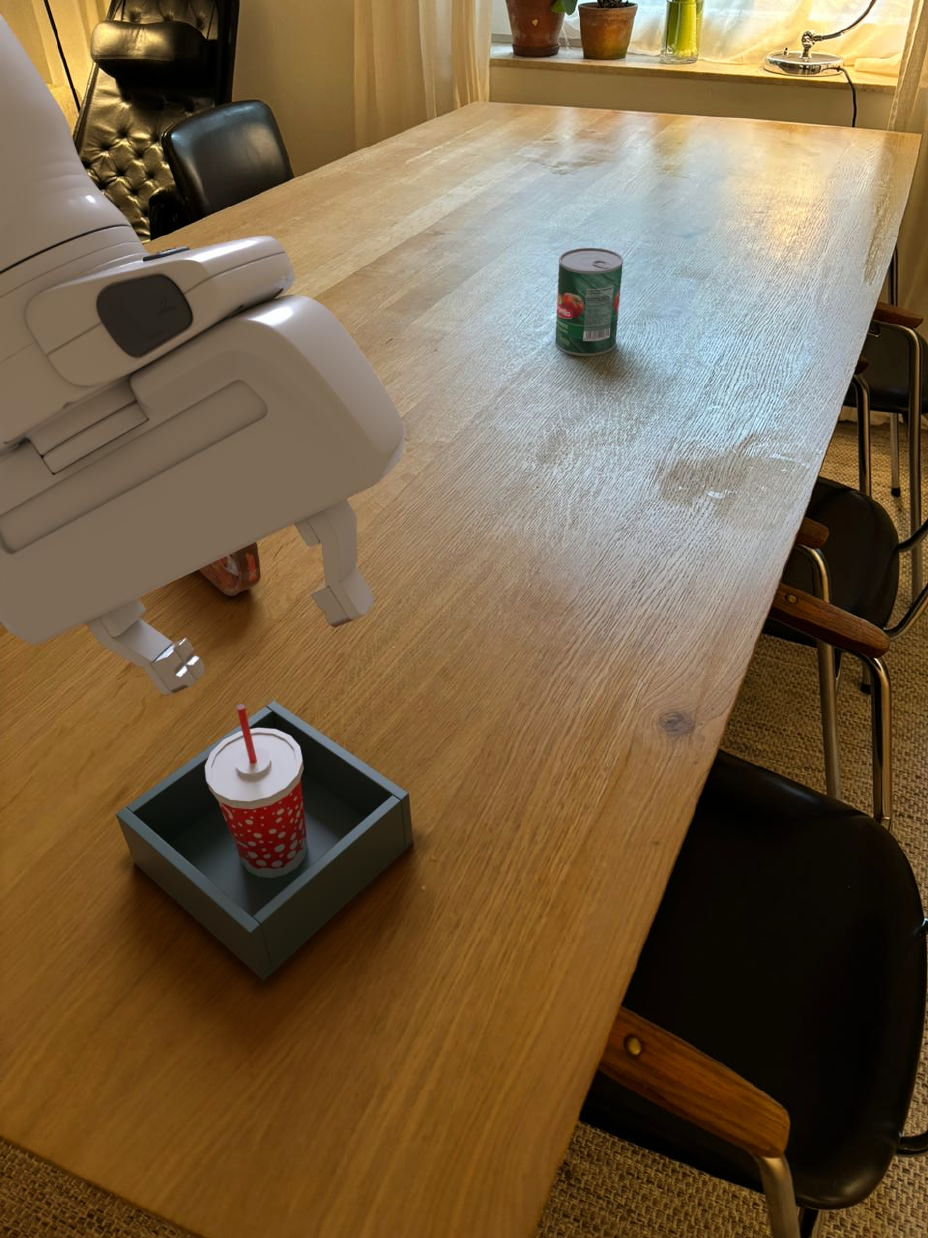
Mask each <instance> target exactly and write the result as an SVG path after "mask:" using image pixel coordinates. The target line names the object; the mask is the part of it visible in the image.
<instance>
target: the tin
mask: <svg viewBox="0 0 928 1238" xmlns="http://www.w3.org/2000/svg"><path fill="white" fill-rule="evenodd" d="M257 542H258V541H257ZM257 542H255V543H253V544H251V545H248V546H246V547H244V548H242V549H240V550H238V551H236V552H234V553H232V554H230V555H227V556H225V557H223V558H221V559H219V560H217V561H215V562H213V563H211V564H208V565H206V566H204V567H202V568H200V569H198V570H197V571H199V572H200V573H201V574H202V575H203V576H204V578H206V579H207V580H208V581H209V582H211V584H213V585H214V586H215V588H217V589H218V590H219V591H220V592H221V593H223V594H224V595H226V596H229V597H234V596H236V595H237V594H239V593H241V592H243V591H246V590H248V589H251V588H253V587H255V586H256V585H257V584H258V583H259V582H260V580H261V577H262V573H261V561H260V556H259V546H258V543H257Z"/></svg>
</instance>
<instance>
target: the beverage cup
mask: <svg viewBox="0 0 928 1238" xmlns="http://www.w3.org/2000/svg"><path fill="white" fill-rule="evenodd" d="M236 711H237V715H238V719H239V725H240V724H241V728H242V731H240V732H238V733H236V734H234V735H232V736H230V737H228V738H226V739H224V740H223V741H222V742H221V743H220V744H219V745H218V746H217V747H216V748H215V749H214V750H213V751H212V752H211V753H210V755H209V758H208V760H207V762H206V765H205V773H206V782H207V784H208V785H209V789H210V791H211V792H212V793H213V795H214V796H215V797H216V799H217V800H218V802H219V805H220V807H221V810H222V812H223V815H224V818H225V820H226V823H227V825H228V828H229V831H230V833H231V836H232V838H233V841H234V844H235V846H236V849H237V851H238V854H239V857H240V859H241V862H242V864H243V865H244V866H245V868H246V869H247V870H248V872H250V873H252V874H254V875H256V876H258V877H266V878H274V877H278V876H282V875H286V874H287V873H289V872H291V871H292V870H294V869H296V868H297V867H298V865H299V864H300V863H301V862H302V861H303V859H304V858H305V855H306V851H307V848H308V846H307V836H306V826H305V816H304V806H303V796H302V786H301V775H302V772H303V769H304V768H303V760H302V755H301V750H300V746H299V745H298V744H297V743H296V741H295V740H294V739H293V738H292V737H291V736H290V735H288V734H286V733H283V732H281V731H279V730H277V729H267V728H254V729H250V728H249V723H248V714H247V711H246V707H245V704H243V703H240V704H237V706H236Z"/></svg>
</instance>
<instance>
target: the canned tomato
mask: <svg viewBox="0 0 928 1238" xmlns="http://www.w3.org/2000/svg"><path fill="white" fill-rule="evenodd" d="M623 264H624V258H623V256H622V255H621V254H620V253H618V252H616V251H613V250H611V249H607V248H600V247H579V248H574V249H570V250H567V251H565V252H563V253H562V254H561V255H560V256H559V257H558V276H557V277H558V278H557V298H556V301H557V302H556V316H555V319H556V320H555V322H556V323H555V338H554V344H555V346H556V348H557V349H558V350H559V351H561V352H563V353H565V354H567V355H572V356H576V357H597V356H602V355H606V354H609V353H610V352H611V351H613V350H614V349H615V348H616V345H617V332H618V322H619V321H618V320H619V309H620V302H621V301H620V299H621V298H620V297H621V289H622V286H621V285H622V276H623Z"/></svg>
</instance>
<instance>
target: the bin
mask: <svg viewBox="0 0 928 1238" xmlns="http://www.w3.org/2000/svg"><path fill="white" fill-rule="evenodd" d="M247 719H248V723H249V728H250V729H254V728H267V729H277V730H279V731H281V732H283V733H286V734H288V735H290V736H291V737H292V738H293V739H294V740H295V741H296V743H297V744H298V745H299V746H300V750H301V755H302V760H303V768H304V769H303V772H302V775H301V786H302V796H303V806H304V816H305V826H306V836H307V846H308V848H307V851H306V855H305V858H304V859H303V861H302V862H301V863H300V864H299V865H298V867H297V868H296V869H294V870H292V871H291V872H289V873H287V874H286V875H282V876H278V877H274V878H266V877H258V876H256V875H254V874H252V873H250V872H248V870H247V869H246V868H245V866H244V865H243V864H242V862H241V859H240V857H239V854H238V851H237V849H236V846H235V844H234V841H233V838H232V836H231V833H230V831H229V828H228V825H227V823H226V820H225V818H224V815H223V812H222V810H221V807H220V805H219V802H218V800H217V799H216V797H215V796H214V795H213V793H212V792H211V791H210V789H209V785H208V784H207V782H206V773H205V765H206V762H207V760H208V758H209V755H210V753H211V752H212V751H213V750H214V749H215V748H216V747H217V746H218V745H219V744H220V743H221V742H222V741H223V740H224V739H226V738H228V737H230V736H232V735H234V734H236V733H238V732H240V731H242V728H241V724H240V723H239V724H238V725H237V726H236V727H234V728H233V729H232V730H230V731H228V733H226V734H225V735H224V736H222V737H220V738H219V739H218V740H216V741H215V742H214V743H212V744H211V745H210V746H208V747H206V748H205V749H204V750H202V751H201V752H199V753H198V754H197V755H195V756H194V757H193V758H191V759H190V760H188V761H187V762H186V763H184V764H183V765H181V766H180V767H179V768H177V769H176V770H174V771H173V772H172V773H170V774H169V775H168V776H166V777H165V778H163V779H162V780H160V781H159V782H158V783H157V784H155V785H154V786H153V787H151V788H149V789H148V790H147V791H146V792H143V794H141V795H140V796H139V797H137V798H136V799H134V800H133V801H132V802H130V803H129V804H126V806H124V807H123V808H122V809H120V810H119V811H118V812H116V813H115V816H116V819H117V822H118V825H119V827H120V830H121V832H122V835H123V837H124V841H125V842H126V845H127V847H128V850H129V852H130V855H131V857H132V860H133V863H134V864H135V865H136V866H137V867H138V868H139V869H140V870H142V872H143V873H145V874H146V875H147V876H148V877H149V878H150V879H151V880H152V881H153V882H155V883H156V885H158V886H159V887H160V888H161V889H162V890H163V891H165V892H166V893H167V894H168V895H169V897H171V898H172V899H173V900H174V901H176V903H178V904H179V905H180V906H181V907H182V908H183V909H184V910H185V911H186V912H188V913H189V914H190V915H191V916H192V917H193V918H194V919H195V920H196V921H197V922H198V923H200V925H202V926H203V927H204V928H205V929H206V930H207V931H208V932H209V933H211V934H212V935H213V936H214V937H215V938H216V939H217V940H218V941H219V942H220V943H222V944H223V946H225V947H226V948H227V949H228V950H229V951H230V952H231V953H232V954H233V955H235V956H236V957H237V959H239V960H240V961H241V962H242V963H244V964H245V965H246V966H247V967H248V968H249V969H250V970H251V971H252V972H254V974H256V975H257V976H258V977H259V978H260V979H261V980H262V981H265V980H267V979H268V977H270V976H271V975H272V974H273V973H274V972H275V971H276V970H277V969H279V967H281V965H283V964H284V963H285V962H286V961H287V960H288V959H289V958H290V957H291V956H292V955H293V954H294V953H296V952H297V951H298V950H299V949H300V948H301V947H302V946H303V945H304V944H305V943H307V941H309V940H310V938H312V937H313V936H314V935H315V934H316V933H317V932H318V931H320V930H321V928H323V927H324V926H325V925H326V924H327V923H328V922H329V921H331V920H332V918H333V917H335V915H337V914H338V913H339V912H340V911H341V910H342V909H343V908H345V906H347V905H348V903H350V902H351V901H352V900H353V899H354V898H355V897H356V896H358V894H360V893H361V892H362V891H363V890H364V889H365V888H366V887H367V886H368V885H369V884H370V883H371V882H373V880H375V879H376V878H377V877H378V876H379V875H380V874H381V873H382V872H384V870H385V869H387V868H388V867H390V865H391V864H392V863H393V862H394V861H395V860H396V859H398V857H400V856H401V855H402V854H403V853H404V852H405V851H406V850H407V849H408V848H409V847H411V846H412V845H413V844H414V835H413V824H412V813H411V803H410V802H411V801H410V793H409V792H407V791H406V790H405V789H403V788H402V787H401V786H399V785H397V784H396V783H395V782H393V781H392V780H390V779H389V778H387V777H386V776H384V775H383V774H382V773H380V772H379V771H377V770H375V769H374V768H373V767H371V766H370V765H369V764H367V763H365V762H364V761H362V760H361V759H360V758H359V757H357V756H355V755H354V754H353V753H351V752H349V750H347V749H345V748H344V747H342V746H340V744H338V743H337V742H335V741H333V740H332V739H330V738H329V737H328V736H326V735H325V734H323V733H322V732H320V731H319V730H317V729H316V728H315V727H313V726H312V725H310V724H309V723H307V722H306V721H304V720H303V719H301V718H300V717H299V716H297V715H296V714H295V713H293V712H291V711H290V710H288V709H287V708H286V707H284V706H282V705H281V704H279V702H277V701H275V700H272V701H271V702H270V703H268V704H267V705H265V706H263V707H262V708H261V709H260V710H258V711H257V712H256V713H254V714H252V715H251V716H250V717H247Z"/></svg>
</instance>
